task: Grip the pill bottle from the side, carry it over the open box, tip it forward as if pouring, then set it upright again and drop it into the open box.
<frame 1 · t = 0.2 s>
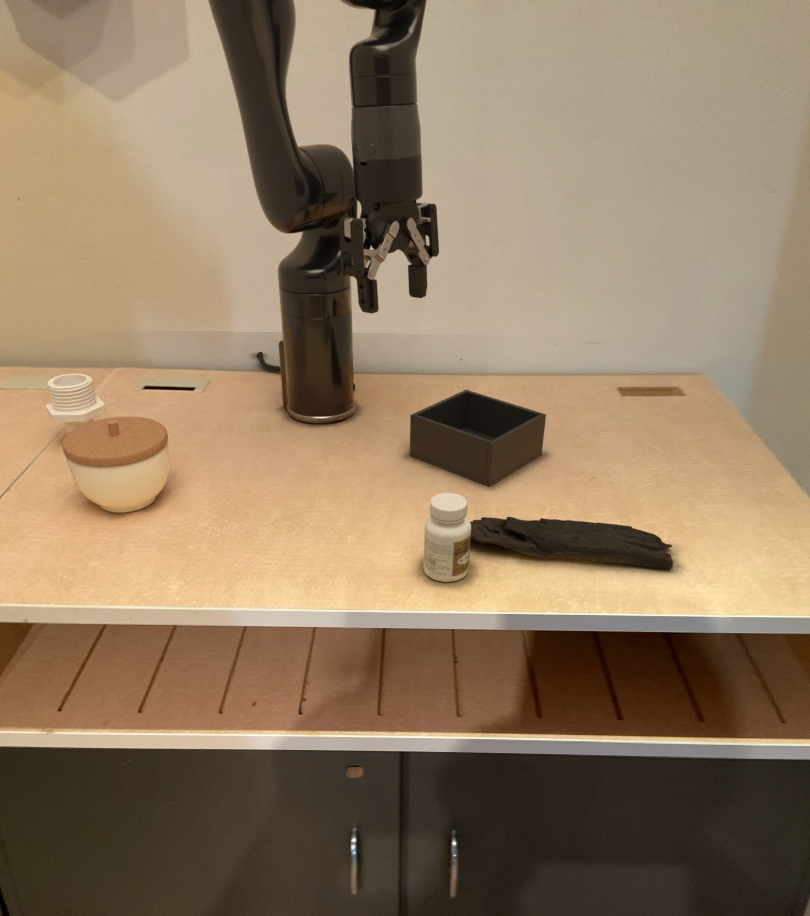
hand: (394, 304, 94), 17 cm above the worktop, tool pointing down, fingers open, 8 cm apart
pipe fitting: (83, 441, 102), on the worktop
pill bottle: (445, 572, 77), on the worktop
wood: (561, 547, 81), on the worktop
trinket box: (128, 500, 89), on the worktop
open box: (475, 455, 99), on the worktop
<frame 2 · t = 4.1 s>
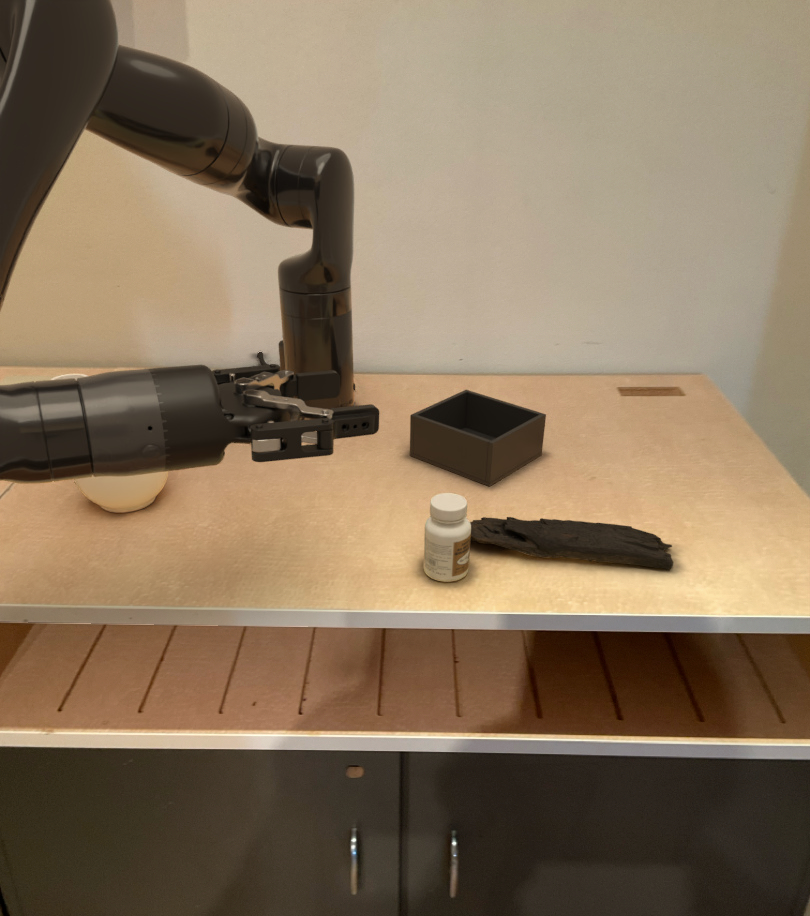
hand: (356, 400, 64), 19 cm above the worktop, tool horizontal, fingers open, 8 cm apart
nothing on the worktop moved.
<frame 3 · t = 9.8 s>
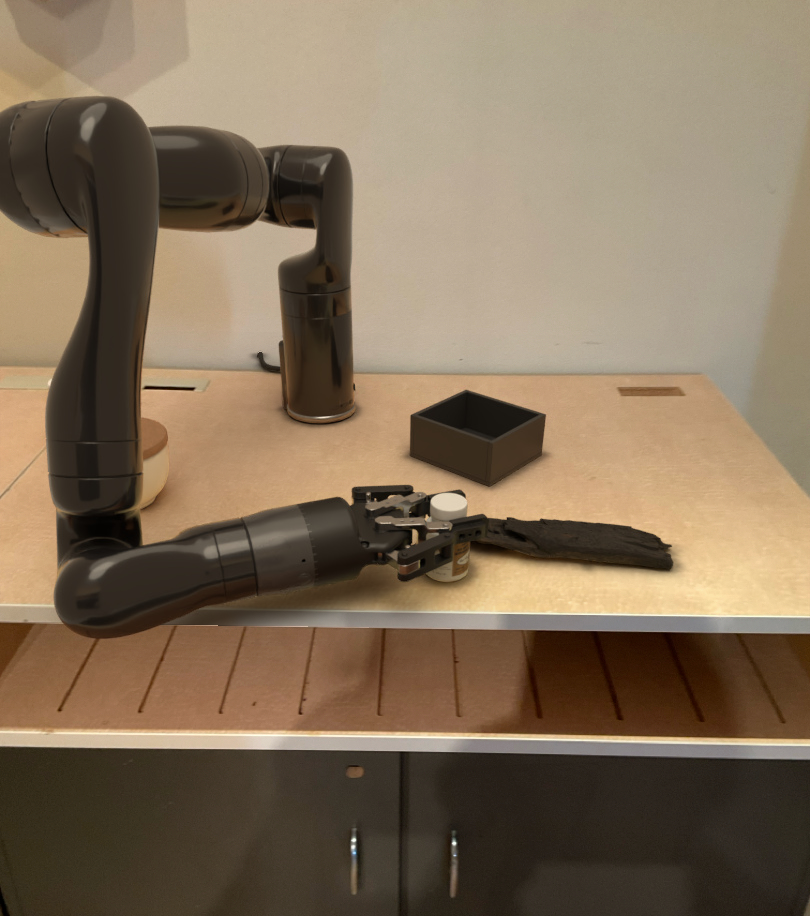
hand: (474, 512, 75), 6 cm above the worktop, tool horizontal, fingers closed on pill bottle, 4 cm apart
pill bottle: (445, 572, 77), on the worktop, touching gripper
everything else where it was.
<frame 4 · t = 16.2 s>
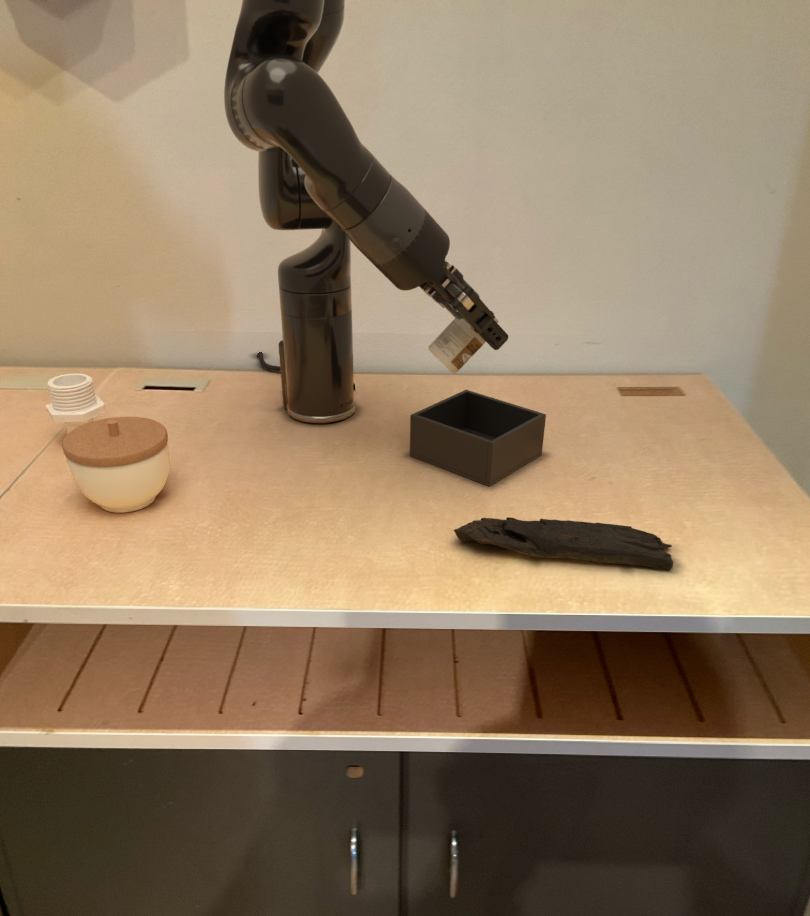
hand: (492, 335, 91), 15 cm above the worktop, tool tilted 45°, fingers closed on pill bottle, 4 cm apart
pill bottle: (439, 363, 91), point 12 cm above the worktop, touching gripper
everything else where it was.
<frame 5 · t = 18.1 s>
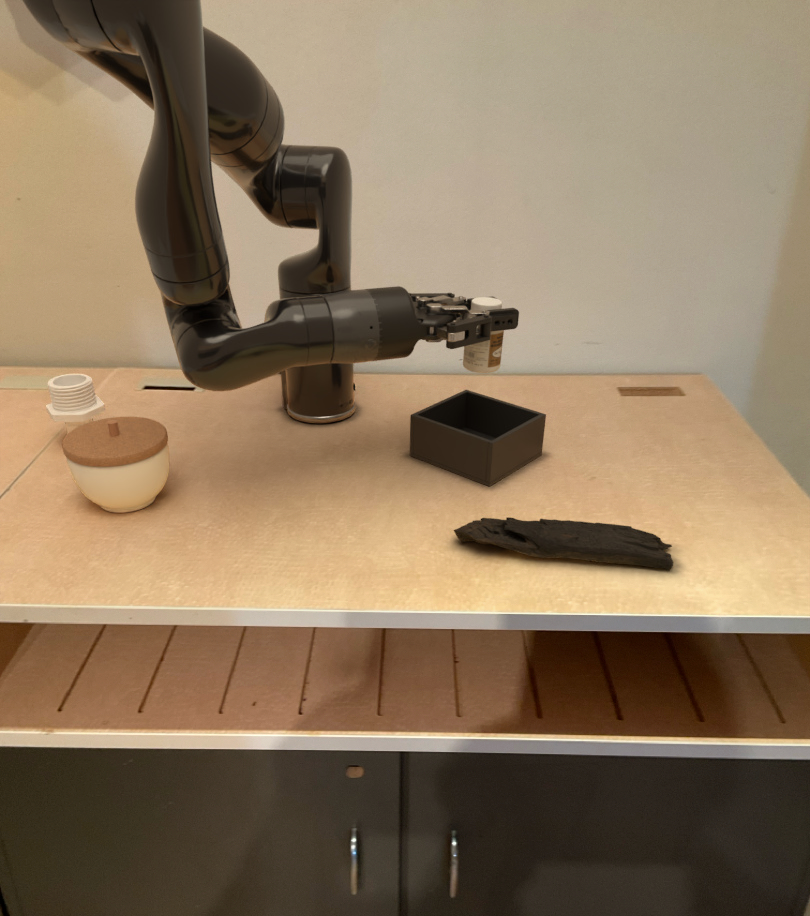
hand: (505, 312, 90), 18 cm above the worktop, tool horizontal, fingers closed on pill bottle, 4 cm apart
pill bottle: (481, 369, 93), point 11 cm above the worktop, touching gripper
everything else where it was.
when the fingers open (10 cm above the worktop, at t = 20.7 s): pill bottle drops 3 cm, resting on open box.
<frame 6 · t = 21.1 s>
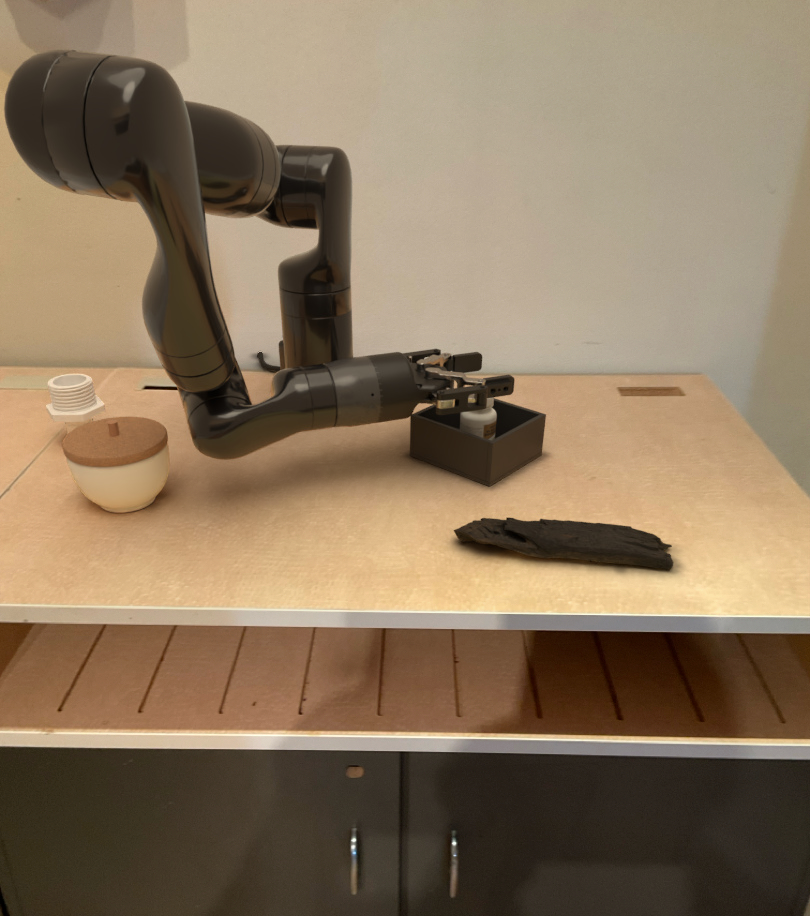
hand: (496, 372, 94), 11 cm above the worktop, tool horizontal, fingers open, 8 cm apart
pill bottle: (476, 453, 98), resting on open box
everything else where it was.
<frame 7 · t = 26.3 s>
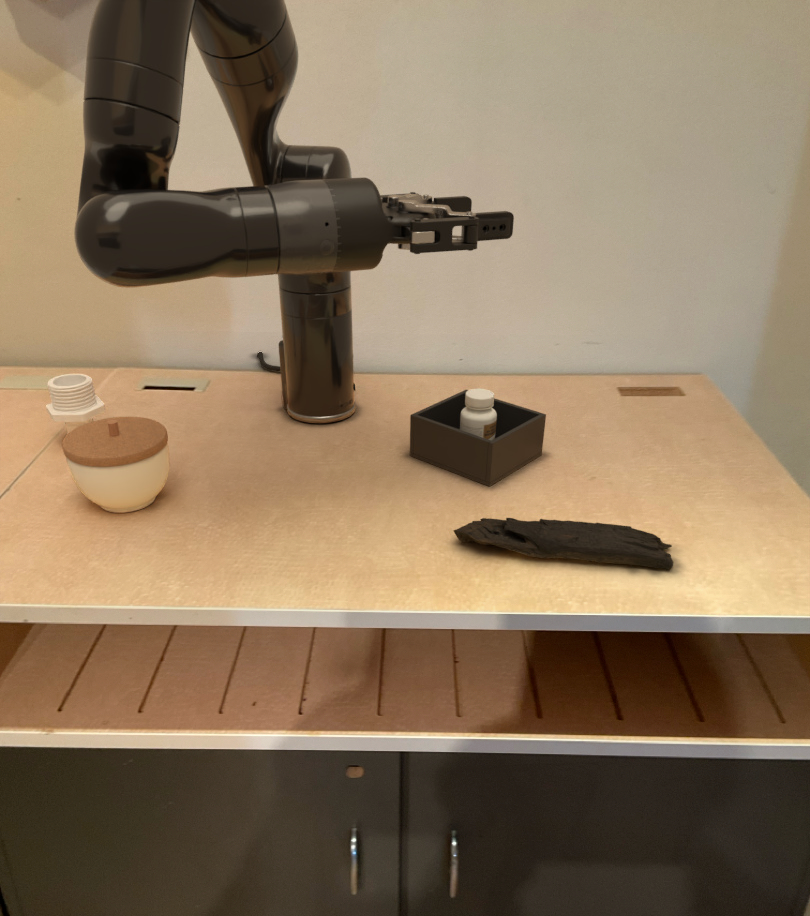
hand: (489, 216, 73), 30 cm above the worktop, tool horizontal, fingers open, 8 cm apart
nothing on the worktop moved.
at the end: pill bottle inside the target area in the open box (0.1 cm from its centre), point 0.3 cm above the open box's base; the gripper is holding nothing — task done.
